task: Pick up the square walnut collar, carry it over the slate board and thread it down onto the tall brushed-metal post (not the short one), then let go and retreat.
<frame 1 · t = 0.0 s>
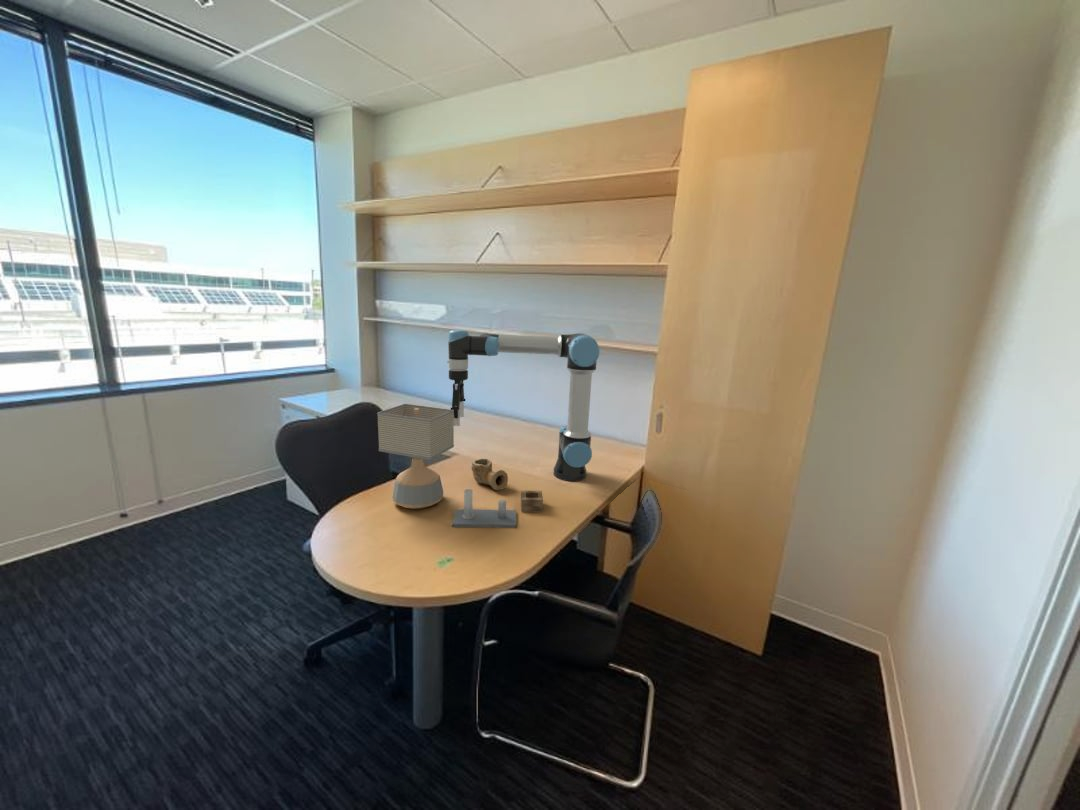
hand: (458, 421, 176), 28 cm above the table, fingers open, 13 cm apart
desk lamp: (418, 501, 166), on the table
pipe: (487, 486, 183), on the table
post board: (485, 519, 154), on the table
collar: (531, 507, 165), on the table
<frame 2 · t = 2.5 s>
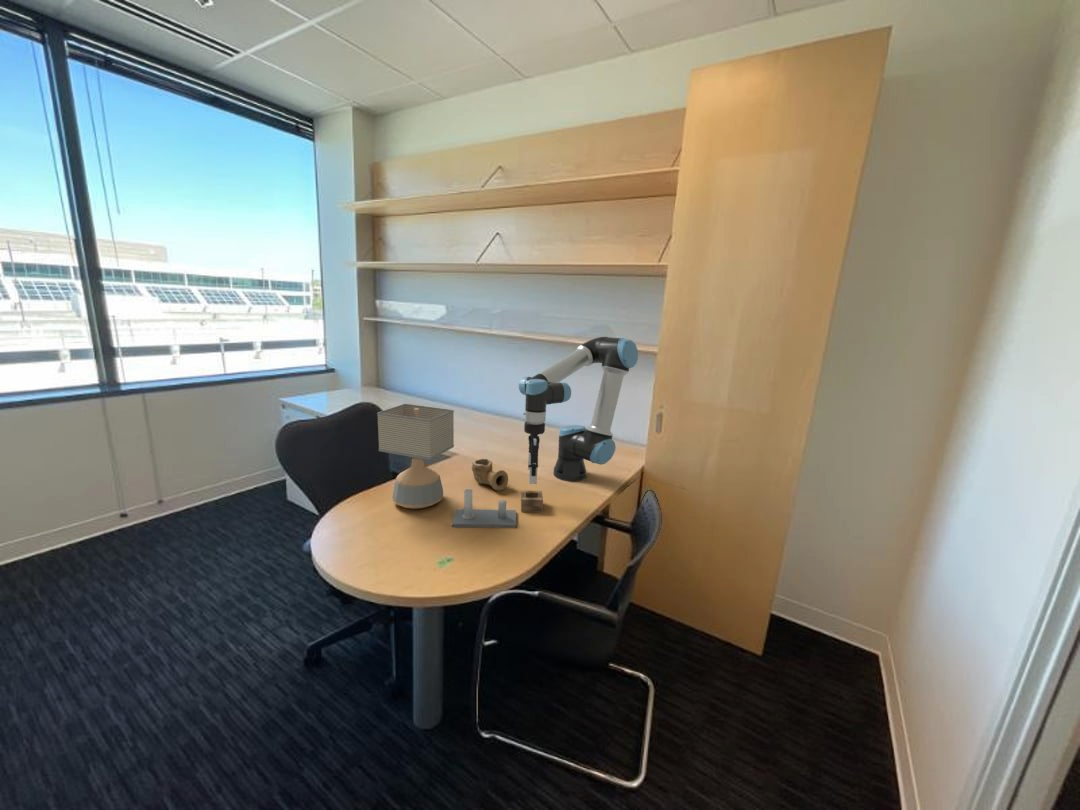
hand: (532, 476, 162), 13 cm above the table, fingers open, 13 cm apart
nothing on the table moved.
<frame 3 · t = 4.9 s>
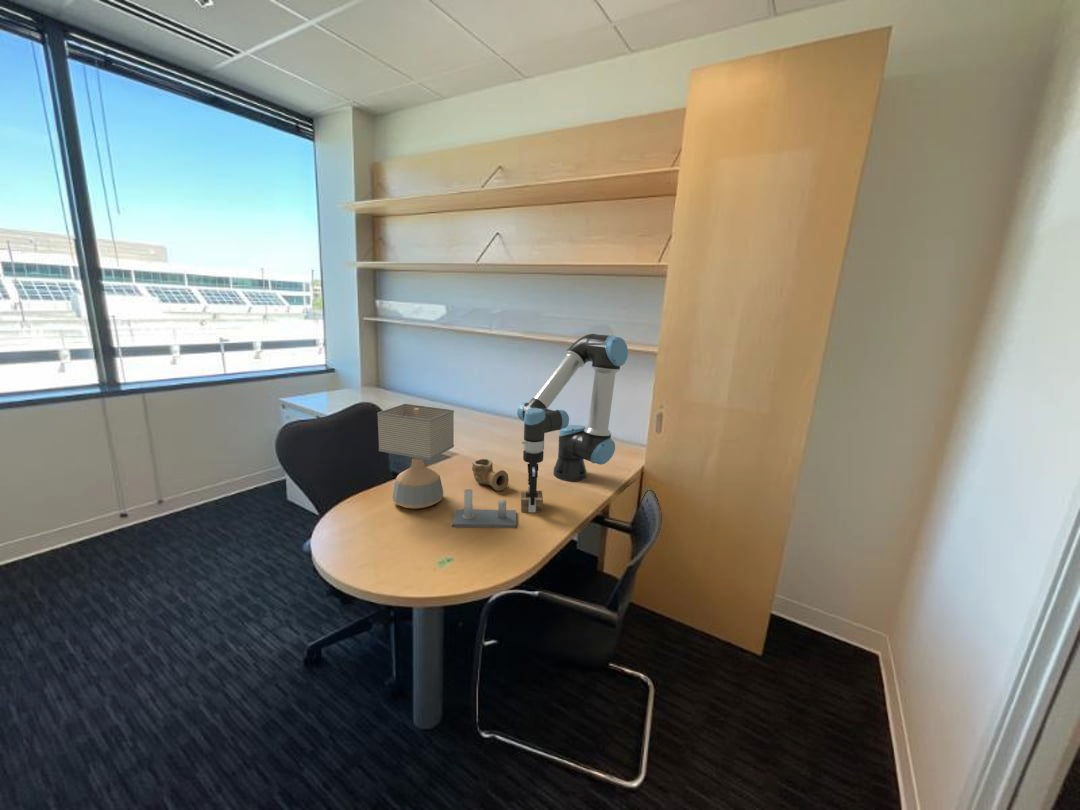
hand: (531, 506, 165), 0 cm above the table, fingers closed on collar, 8 cm apart
collar: (531, 507, 165), on the table, touching gripper
everything else where it was.
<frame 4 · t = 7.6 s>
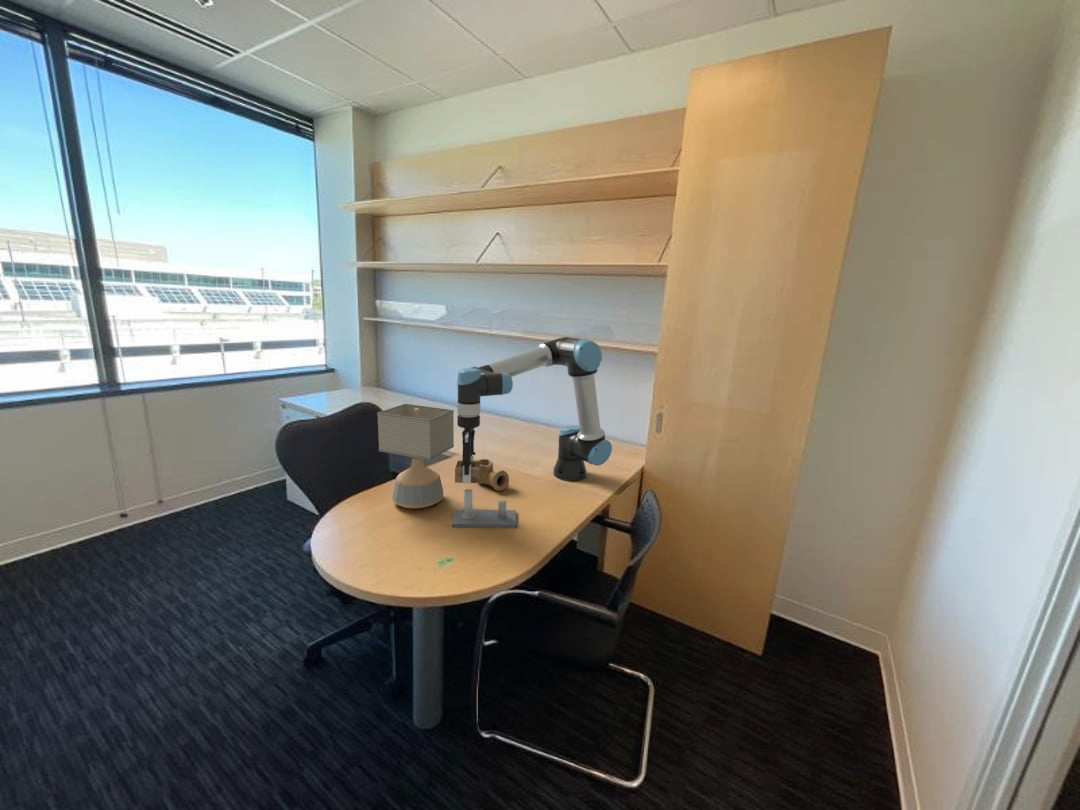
hand: (468, 477, 150), 16 cm above the table, fingers closed on collar, 8 cm apart
collar: (467, 478, 150), point 16 cm above the table, touching gripper
everything else where it was.
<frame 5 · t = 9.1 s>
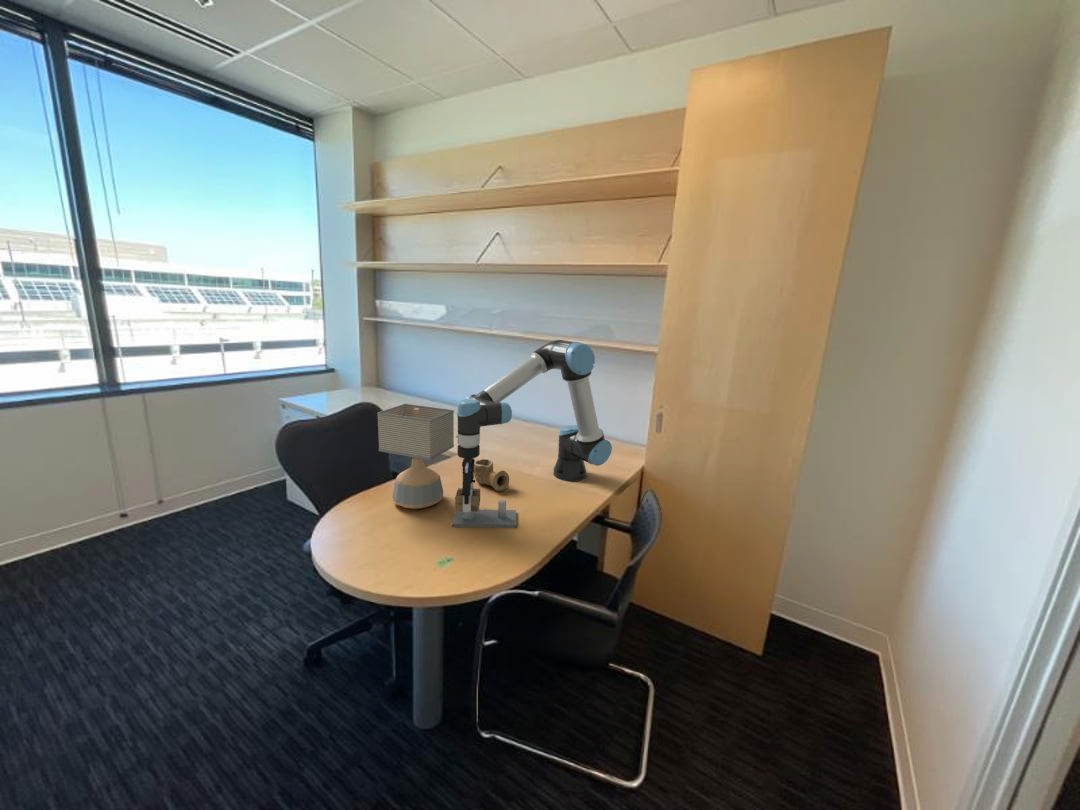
hand: (468, 505, 153), 5 cm above the table, fingers closed on collar, 8 cm apart
collar: (467, 506, 153), point 5 cm above the table, touching gripper
everything else where it was.
when the fingers open (2 cm above the table, at t = 10.1 s): collar stays where it is, resting on post board.
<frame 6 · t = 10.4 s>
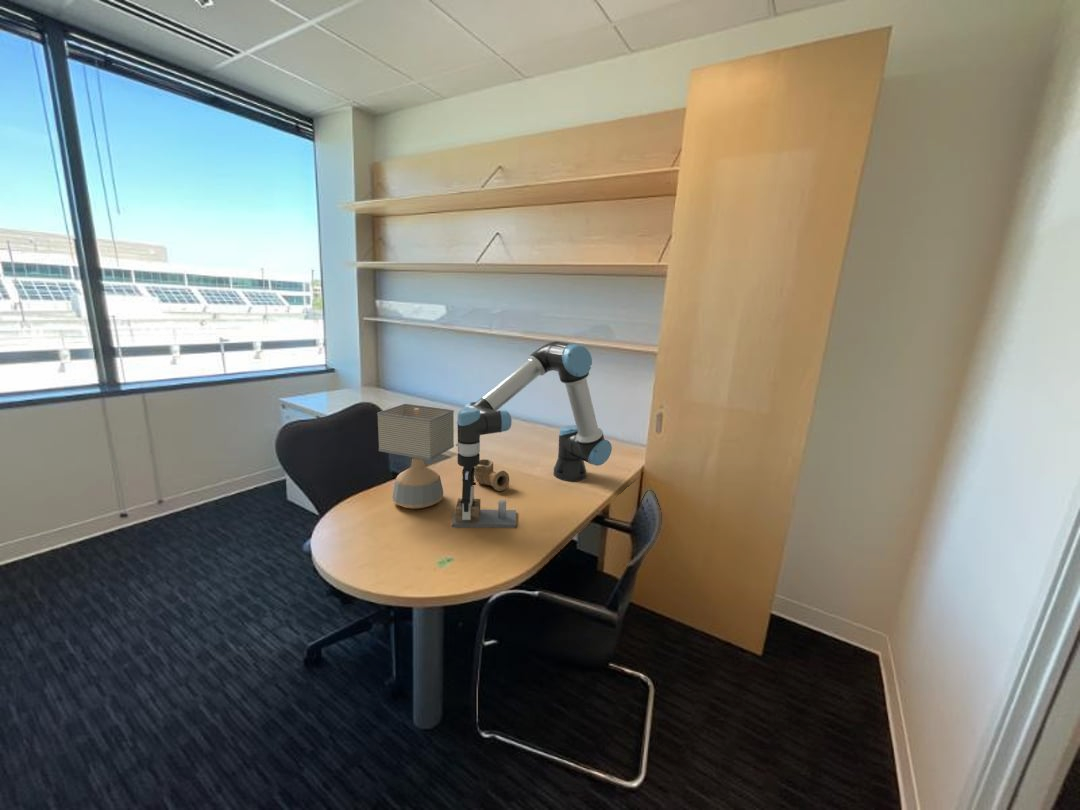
hand: (468, 510, 153), 3 cm above the table, fingers open, 12 cm apart
collar: (468, 516, 154), point 1 cm above the table, touching post board
everything else where it was.
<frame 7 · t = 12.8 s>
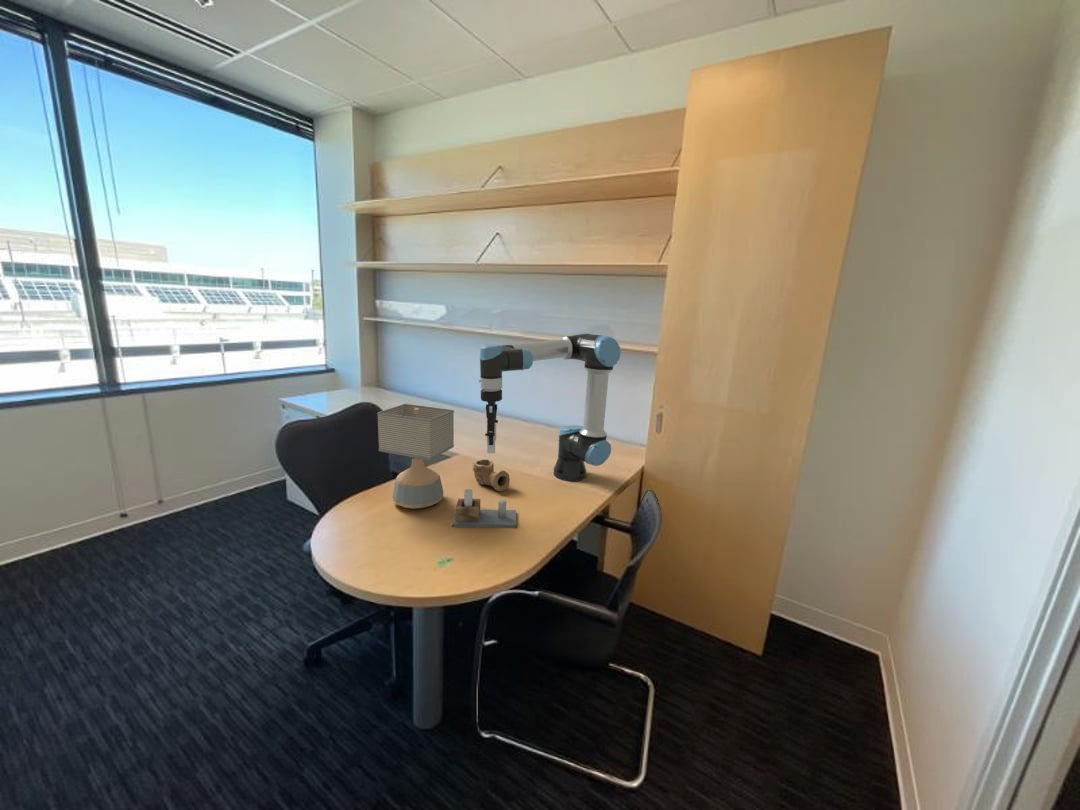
hand: (492, 446, 156), 25 cm above the table, fingers open, 13 cm apart
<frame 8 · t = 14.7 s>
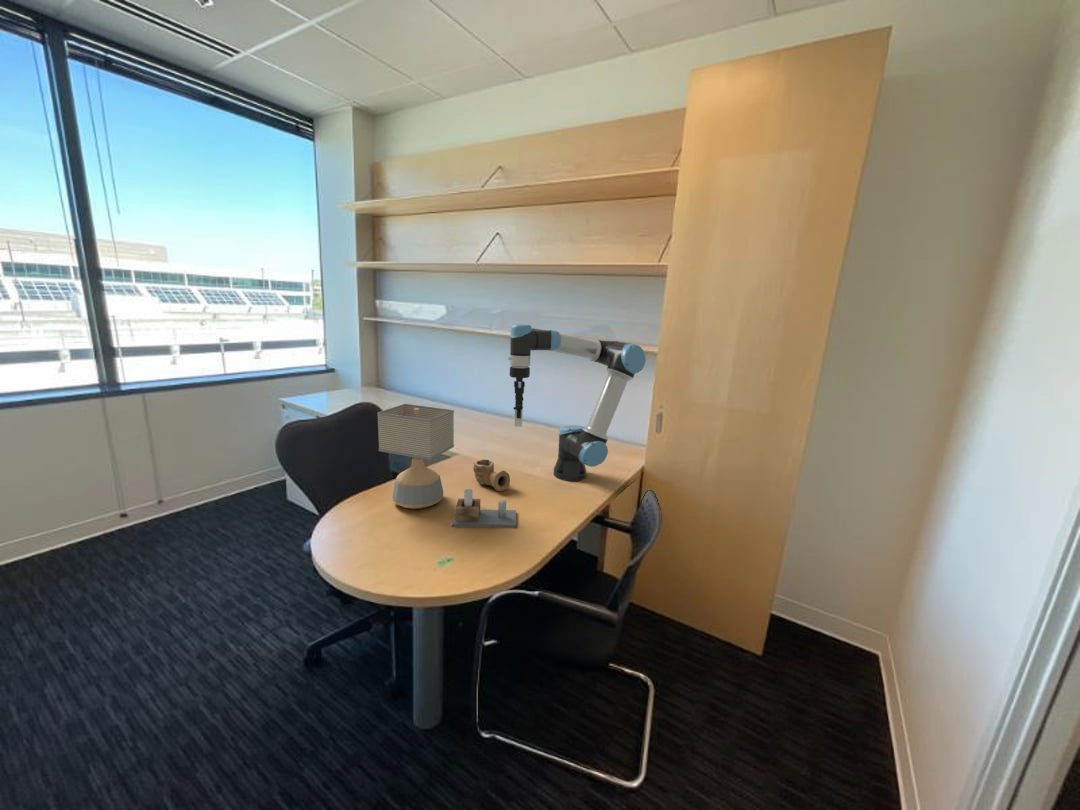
hand: (518, 421, 165), 32 cm above the table, fingers open, 13 cm apart
at the end: collar 0.1 cm from the target spot on the post board, point 1.0 cm above the post board's base; the gripper is holding nothing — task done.
